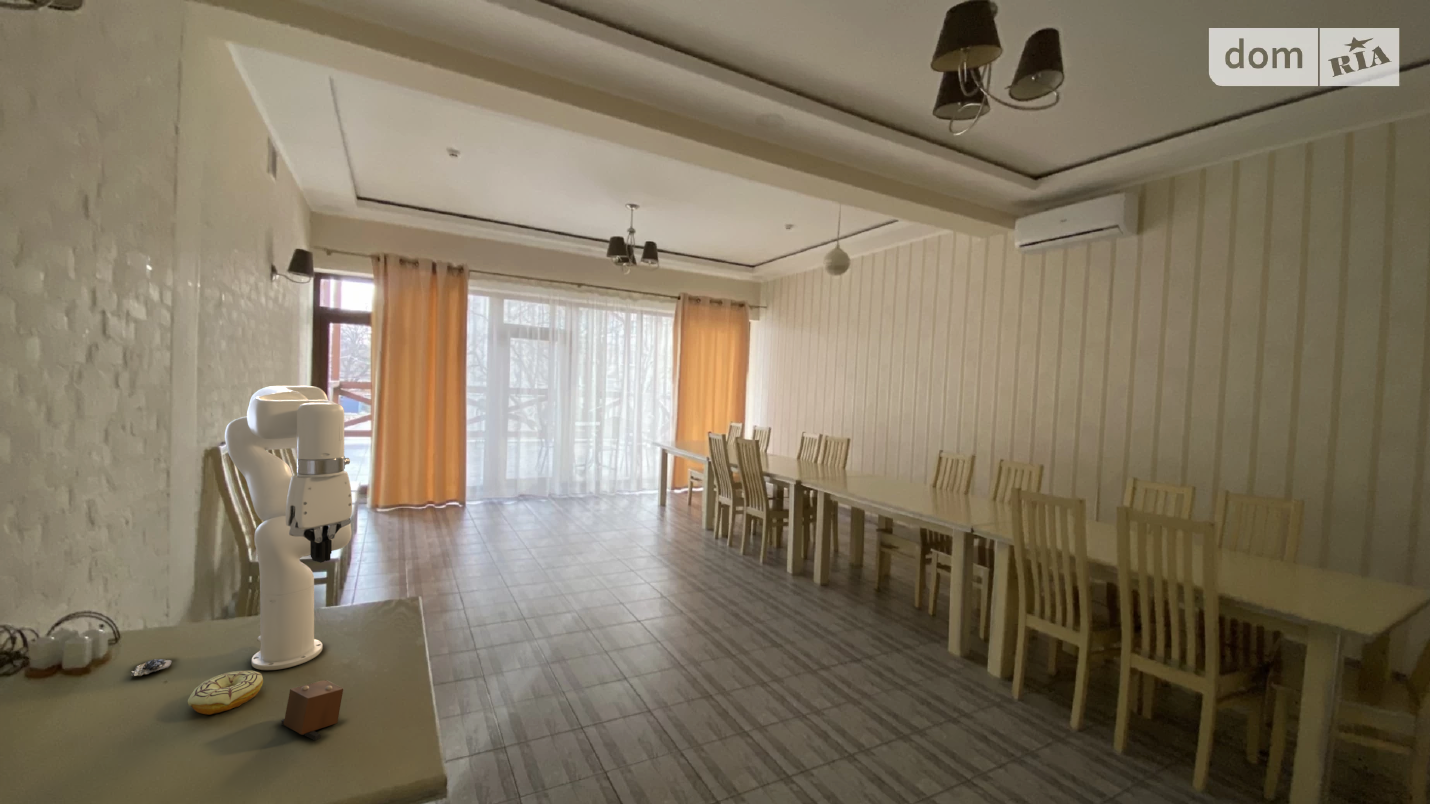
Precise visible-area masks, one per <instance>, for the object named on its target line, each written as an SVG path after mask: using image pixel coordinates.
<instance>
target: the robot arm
mask: <svg viewBox="0 0 1430 804" xmlns="http://www.w3.org/2000/svg"><path fill="white" fill-rule="evenodd" d="M224 440H225V447H226V450H227V453H228V456H229V458H230V460H231V461H232V463H233V465H234V466H235V467H236V469H237V470H238V471H239V472H240V473H241V474H242V476H243V477H244V479H245V481H246V485H247V490H248V494H249V496H250V500H251V503H252V506H253V507H252V508H253V509H254V512H255V514H256V516H257V517H258V519H260V520H261V521H263V522H261V523H260V524H259V525H258V526H257V527H256V529H255V531H254V536H253V538H254V539H253V540H254V541H253V542H254V546H255V551H256V557H257V562H258V568H259V569H258V570H259V571H258V572H259V592H260V593H259V606H260V607H259V611H260V612H259V616H260V617H259V620H260V624H259V626H260V632H259V633H260V635H258V637H257V639H256V641H257V642H259V643H260V650H259V651H256V652H255V654H254V655H252V657H251V666H252V668H254V669H256V670H259V671H260V670H261V671H277V670H283V669H288V668H292V667H296V666H298V665H302V664H305V663H307V662H309V661H311V660H312V659H314V658H316V657H317V656H319V655H320V654H321V653H322V651H323V642H321V641H320V640H319V639H316V638H315V575H314V572H313V570H312V569H311V567H309V566H308V565H307V564H305V563H303V562H302V561H301V558H304V557H305V558H306V557H308V556H310V558H311V560H312V561H313V562H317V563H320V564H321V563H324V562H328V561H331V554H332V552H334V551H338V550H340V549H341V550H342V549H343V548H345V547H346V546H347V545H348V544H349V543H350V541H351V540H352V535H353V534H352V524H351V521H352V520H351V517H352V515H353V496H352V488H351V481H350V477H349V474H348V471H347V470H345V469H346V465H350V463H351V459H350V458H349V457H346V456H345V409H344V407H343V406H342V405H341V404H339V403H336V402H335V401H332V400H329V399H328V395H327V394H326V392H325V391H324V390H323V389H322V388H320V387H317V386H311V385H271V386H266V387H263V388H260V389H258V390H256V391H255V392H254V393H253V394H252V396H251V397H250V399H249V405H248V407H247V412H246V416H241V417H238V418H236V419H233V420H231V421H230V422H229V423H228V424H227V425H226V427H225V431H224ZM289 449H296V474H295V475H293V472H292V470H291V467H290V465H289V464H288V463H287V462H286V461H285V460H283V459H282V458H280V457H279V456H277V455H275V454H274V453H271V452H269V451H272V450H275V451H276V450H289Z"/></svg>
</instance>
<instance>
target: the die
mask: <svg viewBox="0 0 1430 804" xmlns="http://www.w3.org/2000/svg"><path fill="white" fill-rule="evenodd" d="M343 694H344V688H343V687H341V686H339V685H337V684H335V683H333V682H331V681H329V680H327V679H324V680H320V681H316V682H311V683H309V684H303V685H301V686H297V687H293V688H290V689H289V693H288V699H287V703H286V709H285V714H284V718H283V719H284V725H286V726H288V727H289V728H288V727H287V728H288V729H290V728H291V729H290V730H292V729H293V730H292V731H294V732H296V733H298V734H299V735H303V734H305V733H308V732H311V731H318V730H320V729H324V728H326V727H330V726H333V725H336V724H338V723H339V722H338V721H339V716H340V710H341V705H342V701H343V700H342V699H343ZM284 725H283V726H284ZM286 726H285V727H286Z"/></svg>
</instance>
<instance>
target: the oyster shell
mask: <svg viewBox="0 0 1430 804" xmlns="http://www.w3.org/2000/svg"><path fill="white" fill-rule="evenodd" d="M172 662H173V660H170V659H167V660H166V659H162V658H161V659H160V658H159V659H155V658H153V659H150V660H148V661H146V662H144V663H141V664H139V665H137V666H136V667H135V669H134V670H131V671H130V672H131V674H130V677H142V676H143V675H149V674H151V673H154V672H158V671H159V670H164V669H168V668H170V666H171V665H172Z"/></svg>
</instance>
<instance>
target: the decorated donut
mask: <svg viewBox="0 0 1430 804" xmlns="http://www.w3.org/2000/svg"><path fill="white" fill-rule="evenodd" d="M263 683H264V679H263V674H262V673H261V672H259V671H255V670H236V671H230V672H225V673H221V674H219V675H216V676H213V677H211V678H209V679H206V680H205V681H203V682H202V683H201V684H199V685H197V687H195V688H194V690H193V692H192V693H191V694H190V696H189V697H188V699H187V705H188V706H189V707H191V708H192V709H193V710H194V711H195V712H196V713H199V714H203V715H209V716H210V715H214V714H219V713H223V712H226V711H230V710H232V709H233V708H237V707H240V706H241V705H243V704H245V703H247V702H249V701H250V700H252V699H253V698H254V697H256V696H257V695H258V693H259V692H260V690H261V688H262V686H263Z"/></svg>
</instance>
